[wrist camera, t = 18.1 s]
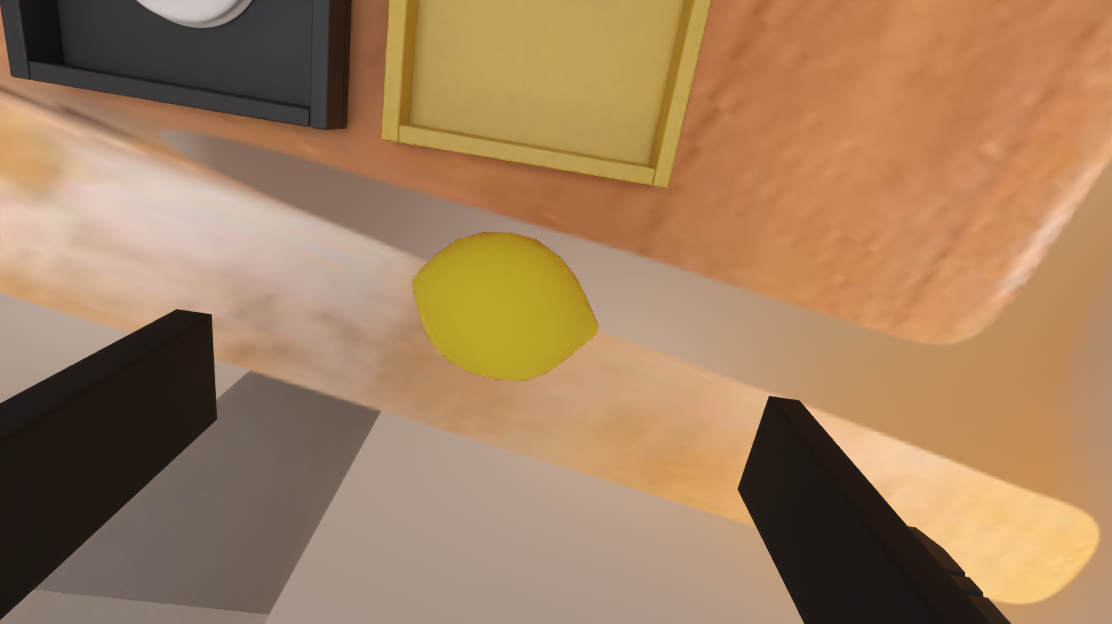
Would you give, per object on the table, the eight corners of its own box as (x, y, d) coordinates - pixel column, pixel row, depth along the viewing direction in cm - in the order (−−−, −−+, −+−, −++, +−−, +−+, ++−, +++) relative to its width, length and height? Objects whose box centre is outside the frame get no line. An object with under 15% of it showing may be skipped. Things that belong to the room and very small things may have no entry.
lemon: (413, 320, 23) (377, 378, 18) (443, 197, 22) (412, 223, 16) (570, 363, 24) (577, 431, 19) (611, 248, 22) (630, 288, 17)
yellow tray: (394, 136, 21) (380, 139, 19) (417, -197, 17) (401, -235, 16) (657, 181, 22) (668, 188, 20) (727, -130, 18) (748, -158, 16)
